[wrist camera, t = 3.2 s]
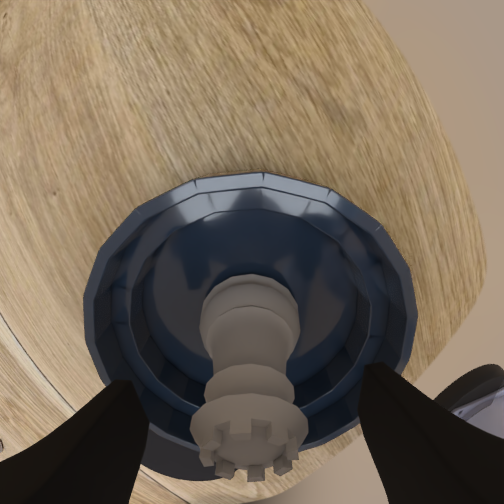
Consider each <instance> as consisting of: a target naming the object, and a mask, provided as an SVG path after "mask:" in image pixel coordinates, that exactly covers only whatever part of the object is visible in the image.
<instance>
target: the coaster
mask: <svg viewBox="0 0 504 504" xmlns="http://www.w3.org/2000/svg"><path fill="white" fill-rule="evenodd" d="M199 455H200V452H198V451H195V450H193V449H190V448H187V447H185V446H182V445H180V444H177V443H175V442H172V441H170V440H168V439H165V438H163V437H161V436H160V435H158V434H157V433H155V432H154V431H152V430H151V429H149V431H148V437H147V443H146V448H145V451H144V455H143V458H142V461H141V464H142V465H144V466H145V467H147V468H149V469H151V470H153V471H155V472H157V473H160V474H163V475H166V476H169V477H172V478H177V479H182V480H189V481H209V480H215V479H220V478H223V477H220V476H217V475H215V470H216V462H215V461H214V466H207V467H204V466H203V464H202V462H201V460H200V458H199ZM236 470H237V469H236V468H235V469H234V472H235V471H236Z"/></svg>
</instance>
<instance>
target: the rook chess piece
mask: <svg viewBox="0 0 504 504" xmlns="http://www.w3.org/2000/svg"><path fill="white" fill-rule="evenodd" d="M200 318H201V320H200V325H199V329H200V333H201V337H202V341H203V344H204V348H205V349H206V350H207V352H208V353H209V356H210V357H211V358H212V360H213V374H214V376H213V377H212V378H211V379H210V380H209V381H208V382H207V384H206V388H205V393H204V397H205V400H206V403H205V404H204V405H203V406H202V407H201V408H200V409H199V410H198V411H197V412H196V413H195V414H194V415H193V416H192V420H191V425H190V432H191V434H192V436H193V438H194V440H195V442H196V443H197V445H198V446H199V447H200V455H199V458H200V460H201V462H202V464H203V466H204V467H207V466H214V461H215V462H216V470H215V475H217V476H220V477H223V478H226V479H229V480H231V479H232V478H233V477H234V469H235V468H236V469H243V470H248V476H247V482H256V481H265V470H264V469H265V468H268V467H272V466H273V467H274V473H275V474H277V475H279V476H282V475H284V474H285V473H287V472H288V471H290V470H292V460H299V457H298V448H299V447H300V446H301V444H302V443H303V441H304V439H305V438H306V436H307V434H308V419H307V418H306V417H305V415H304V414H303V413H302V412H301V410H300V409H299V408H298V407H297V406H295V405H293V404H292V403H293V401H294V399H295V396H294V386H293V385H292V384H291V382H290V381H289V380H288V378H287V377H286V361H287V360H288V359H289V356H290V354H291V353H292V352H293V351H294V348H295V346H296V343H297V341H298V338H299V335H300V322H299V314H298V305H297V303H296V301H295V300H294V298H293V296H292V295H291V293H290V292H289V290H288V289H287V288H285V287H284V286H282V285H281V284H280V283H278V282H277V281H275V280H274V279H272V278H268V277H264V276H259V275H255V274H248V275H241V276H234V277H230V278H229V279H227V280H225V281H223V282H222V283H220V284H218V285H216V286H215V287H214V288H213V289H212V291H211V292H210V293H209V295H208V296H207V297H206V299H205V300H204V302H203V307H202V312H201V317H200Z"/></svg>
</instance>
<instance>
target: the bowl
mask: <svg viewBox="0 0 504 504" xmlns="http://www.w3.org/2000/svg"><path fill="white" fill-rule="evenodd" d="M248 274H255V275H259V276H264V277H268V278H272V279H274V280H275V281H277V282H278V283H280V284H281V285H282V286H284V287H285V288H287V289H288V290H289V292H290V293H291V295H292V296H293V298H294V300H295V301H296V303H297V305H298V314H299V322H300V335H299V338H298V341H297V343H296V346H295V348H294V351H293V352H292V353H291V354H290V356H289V359H288V360H287V361H286V377H287V378H288V380H289V381H290V382H291V384H292V385H293V386H294V396H295V399H294V401H293V403H292V404H293V405H295V406H297V407H298V408H299V409H300V410H301V412H302V413H303V414H304V415H305V417H306V418H307V419H308V434H307V436H306V438H305V439H304V441H303V443H302V444H301V446H300V447H299V448H298V452H301V451H304V450H308V449H311V448H314V447H317V446H320V445H323V444H325V443H327V442H329V441H331V440H332V439H334V438H336V437H338V436H340V435H341V434H343V433H345V432H347V431H348V430H350V429H352V428H353V427H355V426H357V425H358V424H359V423H360V419H359V415H358V411H357V408H358V402H359V396H360V391H361V384H362V378H363V371H364V365H367V364H372V363H377V362H382V361H383V362H384V363H385V364H387V365H388V366H389V367H390V368H392V369H393V370H394V371H395V372H397V373H398V374H399V375H400V376H401V374H402V372H403V370H404V368H405V367H406V365H407V363H408V361H409V359H410V355H411V351H412V346H413V341H414V336H415V330H416V325H417V319H418V311H417V305H416V299H415V294H414V288H413V283H412V278H411V273H410V269H409V266H408V265H407V263H406V261H405V260H404V258H403V257H402V255H401V253H400V252H399V250H398V249H397V247H396V245H395V244H394V242H393V241H392V239H391V238H390V236H389V235H388V233H387V232H386V230H385V229H384V227H383V226H382V224H380V222H378V221H377V220H376V219H374V218H373V217H371V216H370V215H369V214H367V213H366V212H365V211H363V210H362V209H360V208H359V207H358V206H356V205H355V204H353V203H352V202H350V201H349V200H348V199H346V198H345V197H343V196H342V195H340V194H339V193H337V192H336V191H334V190H333V189H331V188H329V187H326V186H323V185H320V184H318V183H315V182H312V181H309V180H305V179H301V178H297V177H294V176H290V175H285V174H281V173H277V172H273V171H269V170H264V169H261V170H260V169H250V170H239V171H229V172H220V173H211V174H208V175H204V176H201V177H198V178H195V179H192V180H190V181H188V182H185V183H183V184H181V185H179V186H177V187H175V188H173V189H171V190H169V191H167V192H165V193H163V194H161V195H159V196H157V197H155V198H153V199H151V200H149V201H147V202H146V203H144V204H142V205H140V206H138V207H137V208H135V209H134V210H133V211H132V213H131V214H130V215H129V216H128V217H127V218H126V219H125V220H124V221H123V222H122V224H121V225H120V226H119V227H118V228H117V229H116V230H115V231H114V233H113V234H112V235H111V236H110V237H109V238H108V239H107V241H106V242H105V243H104V244H103V245H102V247H101V248H100V249H99V251H98V254H97V257H96V259H95V262H94V265H93V268H92V271H91V273H90V276H89V279H88V282H87V285H86V288H85V292H84V295H83V296H84V297H83V312H84V331H85V341H86V345H87V347H88V350H89V352H90V355H91V357H92V360H93V362H94V365H95V367H96V369H97V372H98V374H99V376H100V379H101V380H102V382H103V383H104V384H105V386H106V387H107V386H108V385H109V384H110V383H111V382H113V381H114V380H115V379H118V380H132V382H133V385H134V387H135V390H136V392H137V394H138V397H139V399H140V401H141V404H142V406H143V408H144V411H145V413H146V415H147V417H148V419H149V422H150V424H149V429H151V430H152V431H154V432H155V433H157V434H158V435H160V436H161V437H163V438H165V439H168V440H170V441H172V442H175V443H177V444H180V445H182V446H185V447H187V448H190V449H193V450H195V451H198V452H200V447H199V446H198V445H197V443H196V442H195V440H194V438H193V436H192V434H191V432H190V425H191V420H192V416H193V415H194V414H195V413H196V412H197V411H198V410H199V409H200V408H201V407H202V406H203V405H204V404H205V403H206V400H205V397H204V393H205V388H206V384H207V382H208V381H209V380H210V379H211V378H212V377H213V376H214V374H213V360H212V358H211V357H210V356H209V353H208V352H207V350H206V349H205V348H204V344H203V341H202V337H201V333H200V329H199V325H200V320H201V318H200V317H201V312H202V307H203V302H204V300H205V299H206V297H207V296H208V295H209V293H210V292H211V291H212V289H213V288H214V287H215V286H216V285H218V284H220V283H222V282H223V281H225V280H227V279H229V278H230V277H234V276H241V275H248Z"/></svg>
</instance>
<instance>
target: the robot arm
mask: <svg viewBox="0 0 504 504" xmlns="http://www.w3.org/2000/svg"><path fill="white" fill-rule="evenodd" d="M357 411H358V415H359V419H360V424H361V427H362V431H363V435H364V438H365V440H366V443H367V445H368V448H369V450H370V453H371V456H372V458H373V461H374V463H375V465H376V468H377V470H378V473H379V476H380V478H381V481H382V483H383V486H384V488H385V491H386V495H387V497H388V502H389V504H504V387H502V388H500V389H498V390H496V391H494V392H492V393H490V394H488V395H486V396H483V397H481V398H479V399H477V400H474V401H472V402H470V403H467V404H465V405H462V406H460V407H457V408H455V409H454V410H452V411H451V412H449V411H448V410H446V409H445V408H443V407H442V406H440V405H439V404H437V403H436V402H434V401H433V400H432V399H430V398H429V397H427V396H426V395H425V394H423V393H422V392H421V391H419V390H418V389H417V388H416V387H414V386H413V385H412V384H410V383H409V382H408V381H407V380H405V379H404V378H403V377H402V376H400V375H399V374H398V373H397V372H395V371H394V370H393V369H392V368H390V367H389V366H388V365H387V364H385V363H384V362H383V361H382V362H377V363H372V364H367V365H364V371H363V378H362V384H361V391H360V396H359V402H358V408H357ZM149 424H150V422H149V419H148V417H147V415H146V413H145V411H144V408H143V406H142V404H141V401H140V399H139V397H138V394H137V392H136V390H135V387H134V385H133V382H132V380H118V379H115V380H114V381H113V382H111V383H110V384H109V385H108V386H107V387H105V388H104V389H103V390H102V391H101V392H100V393H98V394H97V395H96V396H95V397H94V398H93V399H92V400H90V401H89V402H88V403H87V404H86V405H85V406H83V407H82V408H81V409H80V410H79V411H78V412H76V413H75V414H74V415H73V416H72V417H71V418H69V419H68V420H67V421H65V422H64V423H63V424H62V425H60V426H59V427H58V428H56V429H55V430H54V431H53V432H51V433H50V434H49V435H47V436H46V437H44V438H43V439H41V440H40V441H38V442H37V443H35V444H34V445H32V446H30V447H29V448H27V449H25V450H24V451H22V452H20V453H18V454H16V455H14V456H12V457H10V458H7V459H5V460H3V461H1V462H0V504H129V500H130V496H131V493H132V490H133V486H134V483H135V480H136V477H137V474H138V471H139V468H140V464H141V461H142V458H143V455H144V451H145V448H146V443H147V437H148V431H149Z"/></svg>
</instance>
